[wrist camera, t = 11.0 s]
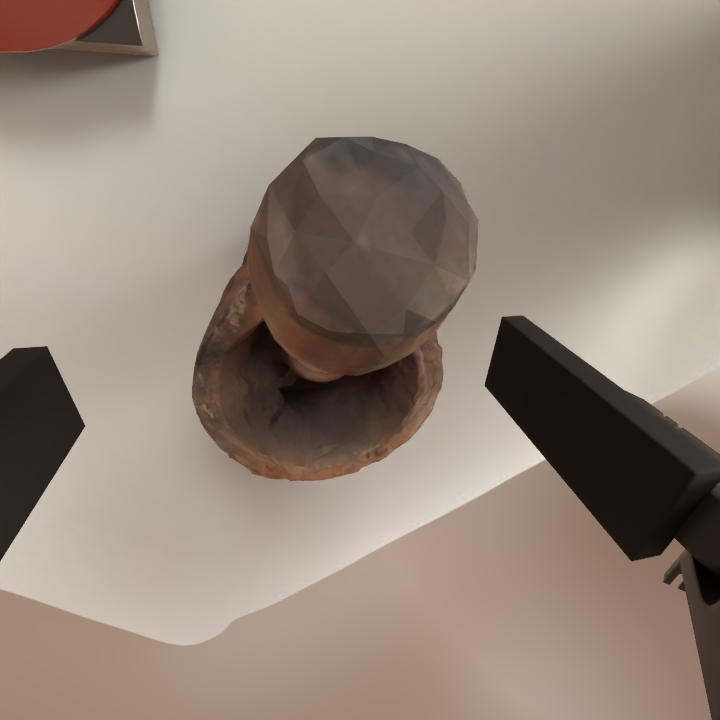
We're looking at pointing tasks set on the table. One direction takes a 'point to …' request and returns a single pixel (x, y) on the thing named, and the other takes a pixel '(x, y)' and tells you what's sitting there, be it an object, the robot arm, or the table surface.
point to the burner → (48, 22)
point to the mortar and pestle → (337, 311)
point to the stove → (120, 32)
